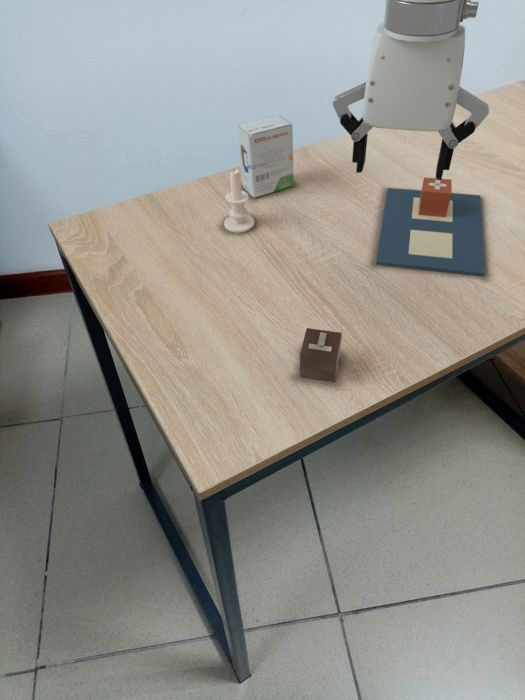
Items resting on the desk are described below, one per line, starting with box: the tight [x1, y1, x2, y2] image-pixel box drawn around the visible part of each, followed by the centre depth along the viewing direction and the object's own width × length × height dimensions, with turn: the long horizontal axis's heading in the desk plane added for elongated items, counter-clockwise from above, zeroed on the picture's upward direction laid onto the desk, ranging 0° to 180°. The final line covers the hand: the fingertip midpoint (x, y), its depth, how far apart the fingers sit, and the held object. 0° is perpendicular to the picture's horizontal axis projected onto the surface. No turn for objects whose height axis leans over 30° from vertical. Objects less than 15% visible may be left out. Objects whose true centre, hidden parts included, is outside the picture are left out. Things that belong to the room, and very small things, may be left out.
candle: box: [223, 168, 255, 234], centre depth 88 cm, size 5×5×10 cm
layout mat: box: [375, 187, 486, 277], centre depth 88 cm, size 16×22×1 cm
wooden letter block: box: [299, 327, 343, 383], centre depth 67 cm, size 4×4×5 cm
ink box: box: [237, 115, 294, 199], centre depth 95 cm, size 9×5×12 cm, turn 116°
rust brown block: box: [418, 177, 453, 217], centre depth 89 cm, size 4×4×5 cm
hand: (399, 170), depth 66 cm, fingers open, 9 cm apart
